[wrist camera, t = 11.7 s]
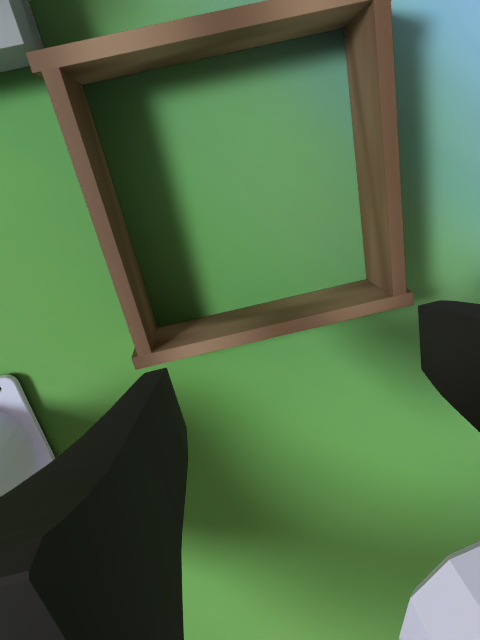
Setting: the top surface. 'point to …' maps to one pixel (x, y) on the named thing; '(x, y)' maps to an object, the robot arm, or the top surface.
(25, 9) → the slate tray
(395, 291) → the walnut box
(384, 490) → the top surface
